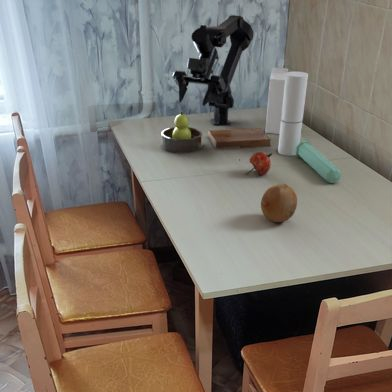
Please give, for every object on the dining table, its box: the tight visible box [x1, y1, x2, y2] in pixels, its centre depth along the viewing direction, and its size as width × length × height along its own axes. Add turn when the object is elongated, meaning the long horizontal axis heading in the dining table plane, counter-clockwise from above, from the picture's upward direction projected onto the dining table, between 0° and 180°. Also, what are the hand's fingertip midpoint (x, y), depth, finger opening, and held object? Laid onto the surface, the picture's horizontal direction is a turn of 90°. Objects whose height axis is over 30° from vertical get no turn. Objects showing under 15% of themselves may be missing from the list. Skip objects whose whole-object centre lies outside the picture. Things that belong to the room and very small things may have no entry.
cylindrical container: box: [277, 71, 309, 157], centre depth 182 cm, size 7×7×25 cm
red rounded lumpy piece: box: [245, 151, 273, 176], centre depth 172 cm, size 7×7×10 cm
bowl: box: [160, 126, 203, 154], centre depth 192 cm, size 14×14×5 cm
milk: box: [264, 67, 289, 135], centre depth 201 cm, size 6×6×22 cm
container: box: [295, 140, 342, 184], centre depth 176 cm, size 6×6×25 cm
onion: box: [260, 183, 298, 223], centre depth 145 cm, size 10×10×10 cm
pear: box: [172, 111, 191, 139], centre depth 189 cm, size 7×7×12 cm
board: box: [207, 127, 272, 149], centre depth 198 cm, size 13×20×2 cm, turn 101°
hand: (191, 103), depth 190 cm, fingers open, 9 cm apart
